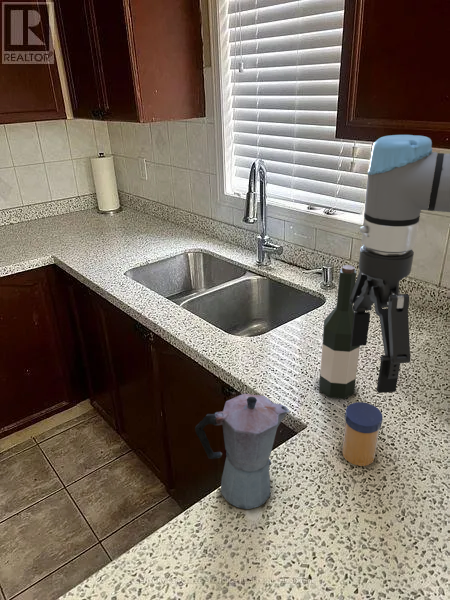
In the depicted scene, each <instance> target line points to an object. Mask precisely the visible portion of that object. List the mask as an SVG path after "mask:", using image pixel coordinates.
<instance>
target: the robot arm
mask: <svg viewBox="0 0 450 600" xmlns="http://www.w3.org/2000/svg"><path fill="white" fill-rule="evenodd" d="M432 146H433V142H432V139H431V137H428V136H424V135H415V134H414V135H413V134H392V135H391V134H390V135H384V136H381V137H379V138H378V139H376V140H375V141H374V142H373V144H372V149H371V153H370V161H369V165H368V166H369V167H368V171H367V180H366V181H367V182H366V191H365V204H364V212H363V226H360V227H359V232H360V233H361V244H362V246H361V247H360V249H359V258H358V269H359V270H358V274H357V276H356V281H355V286H354V288H353V291H352V294H351V297H350V303H353V311H355V313H354V315H353V324H352V334H351V343H350V344H351V346H360V347H362V346H367V343H368V335H369V328H370V327H369V326H370V320H371V313H370V311H372V310H373V309H372V308H373V307H372V306H373V305H374V313H375V314H376V316H378V317H379V324H380V331H381V338H382V346H383V352H384V354H382V355H381V356H380V357H379V358H380V362H379V363H380V364H379V369H378V378H377V385H376V391H377V393H378V394H384V393H385V394H386V393H396V392H397V387H398V380H399V374H400V368H401V364H409V363H410V362H411V342H410V341H411V340H410V323H409V322H410V321H409V308H410V307H409V305H410V295H409V294H408V293H401V292H400V281H402V280H403V279H404V278H407V277H408V276H409V275H410V274H411V271H412V266H413V261H414V256H415V252H414V250H413V249H414V248H416V244H417V237H418V231H419V226H420V219H421V218H420V217H421V215H420V214H421V211H429V212H440V213H441V212H442V213H450V153H444V152H443V153H442V152H437V151H433V147H432Z"/></svg>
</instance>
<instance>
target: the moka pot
mask: <svg viewBox="0 0 450 600" xmlns="http://www.w3.org/2000/svg"><path fill="white" fill-rule="evenodd" d="M290 412H291V411H290V410H289V408H288V407H287V406H286V405H283V404H280V403H274V402H272V400H270V398H268V397H267V396H265V395H259V394H251V393H241V394H239V395H237V396H235V397H233V398H231V399H230V398H229V399H228V400H226V401H225V403H224V407H223V410H222V411H221V410H220V411H216V412H214V413H207V414H206V415H205V416H204V417H203V418H202V420H200V421H199V422H198V423H197V424H196V425H195V427H194V430H195V435H196V436H197V438H198V439H199V442H200V443H201V446H202V447H203V449H204V452H205V454H206V455H207V458H208V459H210V460H215V459H221V458H222V456H223V452H221V451H216V452H214V451H213V449H212V447H211V444H210V441H209V439H208V436H207V434H206V431H205V429H204V428H205V427H206V426H208V425H213V426H222V434H223V441H224V449H225V456H226V457H225V462H224V466H223V472H222V474H221V475H222V476H221V480H220V481H221V482H220V494H221V495H222V497H223V498H224V500H226V501H227V502H228V503H229V505H231V506H232V507H233V506H234V507H236V508H239V509H244V510H250V509H255V508H259V507H261V506H262V505H264V504H265V503H266V501H267V500H268V499H269V497H270V496H271V477H270V466H271V465H272V460H271V459H270V457H271V454H272V451H273V447H274V443H275V439H276V436H277V430H278V427H279V426H280V424H281V423H282V421H283V419H284V418H285V416H286V415H287V414H288V413H290Z"/></svg>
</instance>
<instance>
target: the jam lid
mask: <svg viewBox="0 0 450 600" xmlns="http://www.w3.org/2000/svg"><path fill="white" fill-rule="evenodd" d="M344 420H345V422H346V423H347V425H348V426H349V427H350V428H352V429H353V430H355V431H358V432H361V433H373V432H376V431H378V430H379V431H380V430H381V428H382V424H383V421H384V420H383V413H382V411H381V410H380V409H379V408H378V407H377V406H375V405H374V404H371V403H368V402H364V401H356V402H352V403H350V404H348V405H347V406H346V408H345V412H344Z"/></svg>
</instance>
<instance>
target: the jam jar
mask: <svg viewBox="0 0 450 600" xmlns="http://www.w3.org/2000/svg"><path fill="white" fill-rule="evenodd" d="M344 423H345V424H344V430H343V431H344V432H343V440H342V449H341V450H342V451H341V454H342V456H343V458H344V459H345V460H346V461H347V462H348V463H349V464H352V465H354V466H358V467H366V466H370V465H371V464H373V463H374V461H375V459H376V454H377V453H376V452H377V446H378V441H379V434H380V429H379V430H378V431H376V432H373V433H361V432H358V431H355V430H353V429H352V428H350V427H349V426H348V425H347V423H346V421H345V422H344Z"/></svg>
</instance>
